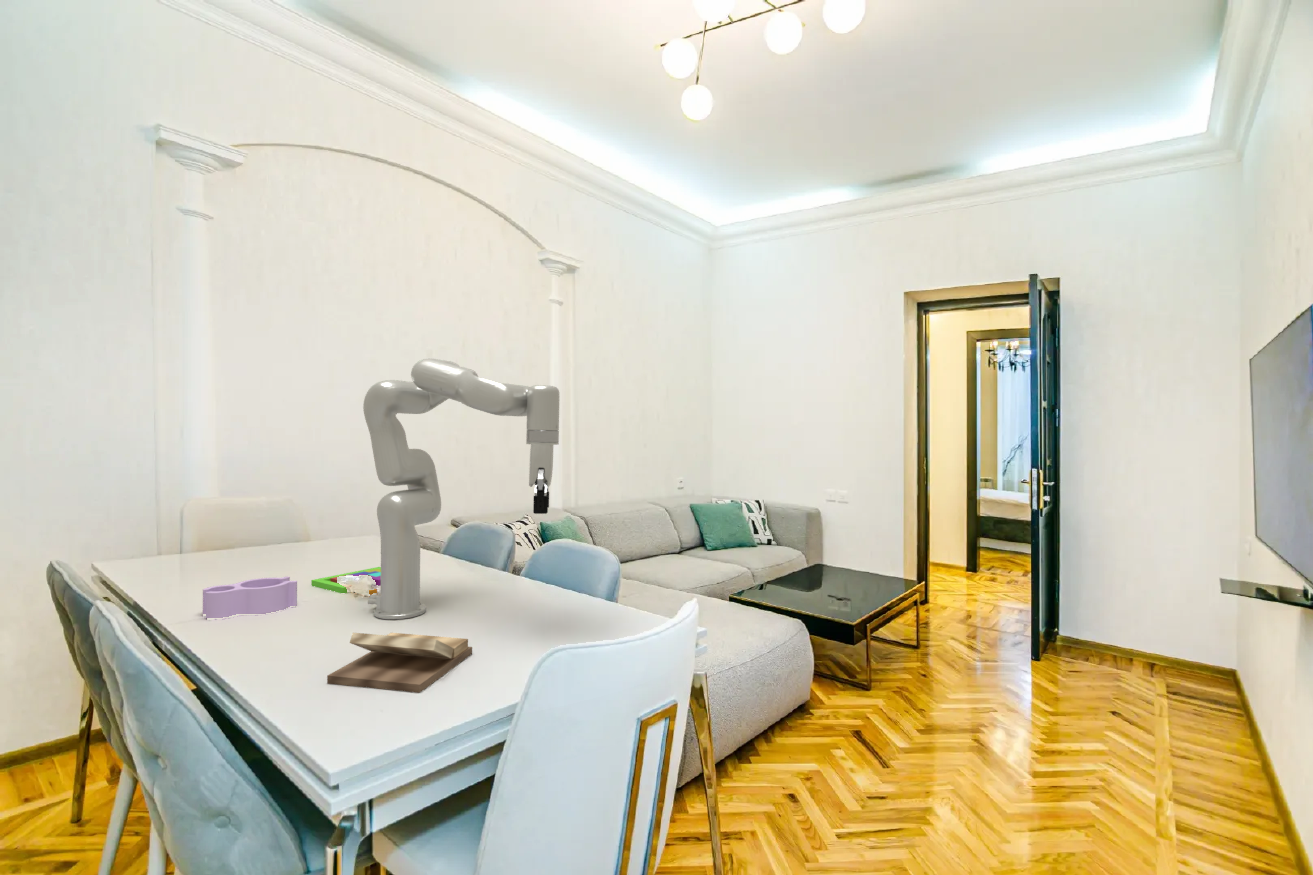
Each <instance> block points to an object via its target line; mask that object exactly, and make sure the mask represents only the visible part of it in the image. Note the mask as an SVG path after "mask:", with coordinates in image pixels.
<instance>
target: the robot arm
mask: <svg viewBox="0 0 1313 875" xmlns="http://www.w3.org/2000/svg"><path fill="white" fill-rule="evenodd" d="M410 376H411V377H410V378H411V380H412V381H406V380H395V379H388V380H380V381H378V382H376V383H374V384H373V385H372V386H370V388H368V391H366V394H365V395H364V398H363V399H364V400H363V406H362V408H363V415H364V419H365V423H366V426H367V428H368V432H369V436H370V442H371V443H370V444H371V449H372V454H373V458H374V466H375V471H376V475H377V478H378V480H379V482H380V483H381V484H383V485H385V486H387V487H400V486H407V489H403V490H396V491H391V492H389V493H386V495H384V496H382V497H381V499H380V500H379V501H378V504H377V507H376V516H377V517H376V518H377V521H378V526H379V532H380V567H381V586H380V594H379V595H378V594H377V595H370V596H369V597H368V599H367V604H368V605H369V604H370V605H376V606H375V608H374V609H373V616H374V617H376V618H378V619H381V620H405V619H409V618H415V617H418V616H421V615H423V614H424V613H425V612H427V606H426V604H424V603H421V601H420V600H421V598H420V597H421V540H420V536H419V534H418V532H417V530H416V527H415V526H418V525H424V524H428V523H432V522H433V521H435V520H436V519H437V518H438V517H439V515H440V513H441V510H442V497H441V493H440V492H441V491H440V487H439V486H440V485H439V480H438V474H437V470H436V465H435V462H434V460H433V458H432V456H431V455H430V454H429V453H428V452H427V451H425V450H423V449H421V448H410V447H409V445H408V441H407V440H408V439H407V435H406V431H405V428H404V426H403V425H402V423H401V421H400V420H399V419H398V417H397V416H396V415H397V414H402V415H403V414H404V415H406V414H407V415H422V414H425V413H428V412H430V411H432V410H433V409H435V408H437V407H438V406H439V405H442V404H443V403H444V402H446V401H447V400H449V399H450V400H451V401H456V402H458V403H461V404H463V405H465V406H466V407H469V408H472V409H474V410H477V411H480V412H484V413H487V414H490V415H494V416H502V417H504V416H505V417H526V433H525V434H526V436H525V437H526V440H525V441H526V442H525V443H526V445H530V450H529V474H528V475H529V476H528V479H529V480H528V486H529V487H530V488H531V487H533V486H534V495H533V504H532V505H533V510H532V511H533V514H536V515H537V514H538V515H540V514H542V515H543V514H545V515H546V514H547V513H548V511H549V509H548V508H549V507H550V491H549V487H550V486H551V483H552V477H553V470H554V468H553V467H554V446H555V445H559V441H560V440H559V439H560V435H559V433H560V390H559V388H558V387H557V386H553V385H541V384H540V385H539V384H537V385H531V386H528V385H520V384H515V383H514V384H512V383H504V382H498V381H494V380H491V379H486V378H484V377H479V375H478V373H477V372H476V371H475V370H473V369H470V368H467V367H464V366H460V365H459V364H458V363H456V362H454V361H451V360H450V361H449V360H444V359H443V360H442V359H436V358H423V359H421V360H419V361H417V362H416V363H415V364H414V365H413V366H412V368H411V373H410Z"/></svg>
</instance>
